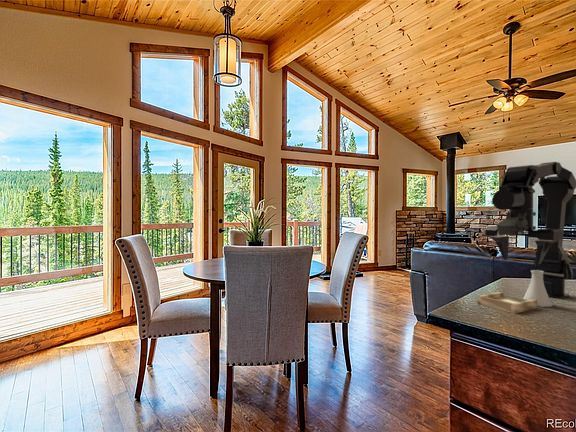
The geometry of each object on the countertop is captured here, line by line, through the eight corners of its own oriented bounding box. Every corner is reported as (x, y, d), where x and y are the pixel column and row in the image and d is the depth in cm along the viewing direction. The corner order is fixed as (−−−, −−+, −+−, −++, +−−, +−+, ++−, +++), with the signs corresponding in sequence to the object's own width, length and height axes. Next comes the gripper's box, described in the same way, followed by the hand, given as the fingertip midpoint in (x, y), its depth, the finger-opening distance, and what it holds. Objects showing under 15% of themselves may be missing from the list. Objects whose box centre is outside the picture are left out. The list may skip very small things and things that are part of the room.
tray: (499, 299, 105) (499, 291, 105) (537, 308, 96) (537, 299, 95) (477, 303, 100) (477, 295, 100) (514, 313, 91) (514, 304, 90)
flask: (557, 308, 95) (558, 273, 95) (529, 307, 97) (529, 272, 97) (543, 301, 102) (544, 269, 102) (517, 300, 104) (518, 268, 104)
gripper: (473, 209, 102) (473, 260, 103) (541, 209, 86) (541, 270, 86) (495, 208, 107) (495, 256, 108) (564, 208, 91) (564, 265, 91)
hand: (521, 261), depth 98 cm, fingers open, 9 cm apart
